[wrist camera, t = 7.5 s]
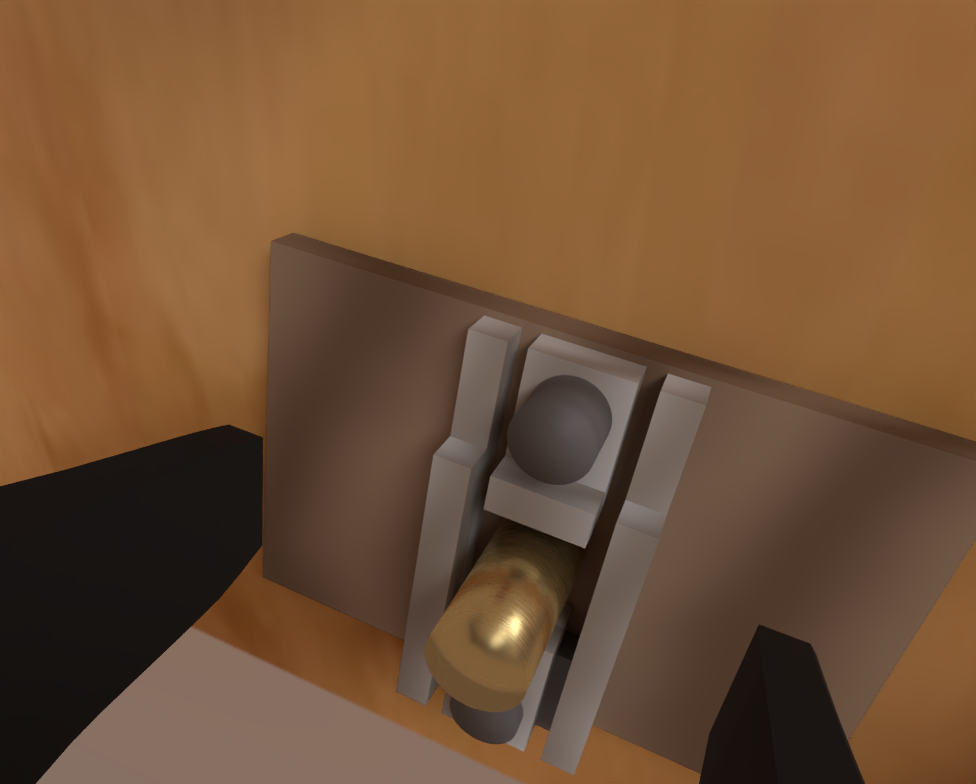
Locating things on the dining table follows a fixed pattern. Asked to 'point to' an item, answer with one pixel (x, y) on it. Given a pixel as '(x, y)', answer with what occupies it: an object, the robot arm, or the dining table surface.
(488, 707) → the brass pin
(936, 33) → the dining table surface
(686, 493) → the grey mounting plate
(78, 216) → the dining table surface
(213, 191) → the dining table surface
